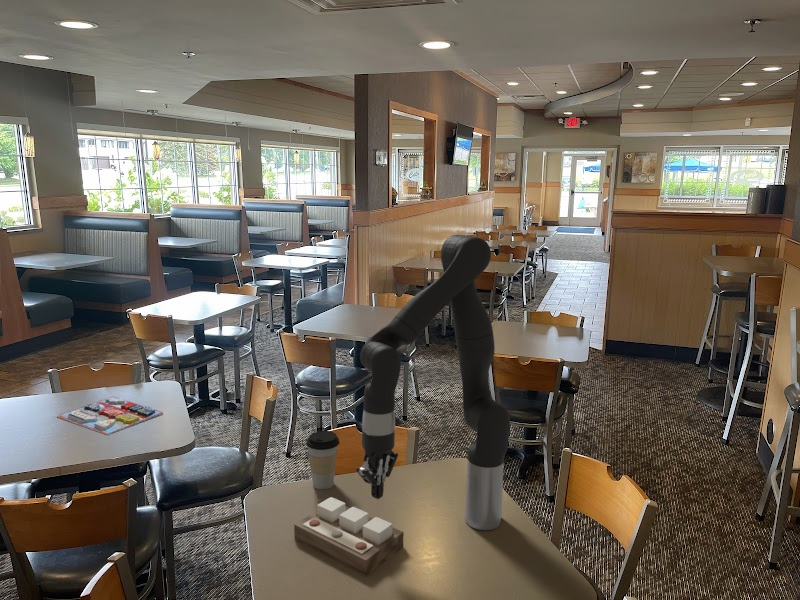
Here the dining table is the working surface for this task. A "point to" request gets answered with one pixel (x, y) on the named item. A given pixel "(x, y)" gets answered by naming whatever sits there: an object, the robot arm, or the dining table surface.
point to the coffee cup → (323, 458)
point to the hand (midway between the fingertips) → (377, 497)
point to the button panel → (346, 543)
